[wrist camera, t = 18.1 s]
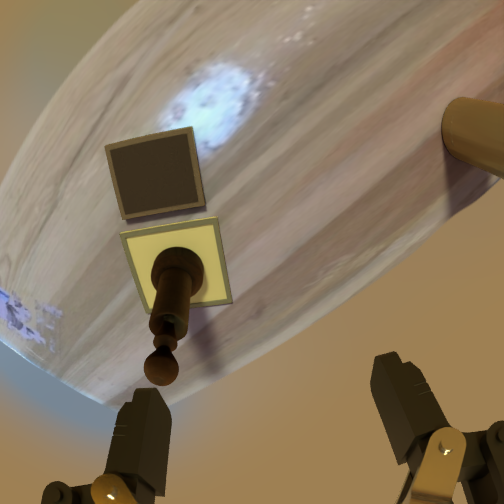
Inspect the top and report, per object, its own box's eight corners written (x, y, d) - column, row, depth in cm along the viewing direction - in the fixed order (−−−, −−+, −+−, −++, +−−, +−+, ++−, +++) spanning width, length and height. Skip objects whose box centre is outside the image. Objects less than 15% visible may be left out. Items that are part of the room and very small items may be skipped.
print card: (217, 216, 37) (217, 217, 37) (232, 300, 43) (232, 302, 43) (120, 232, 37) (119, 234, 36) (146, 311, 43) (146, 313, 42)
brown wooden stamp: (190, 297, 42) (180, 410, 26) (145, 278, 40) (113, 387, 24) (212, 259, 40) (211, 371, 24) (165, 237, 37) (133, 342, 22)
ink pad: (192, 126, 32) (191, 127, 31) (205, 202, 36) (204, 206, 35) (107, 144, 32) (103, 146, 31) (124, 216, 36) (121, 220, 35)
